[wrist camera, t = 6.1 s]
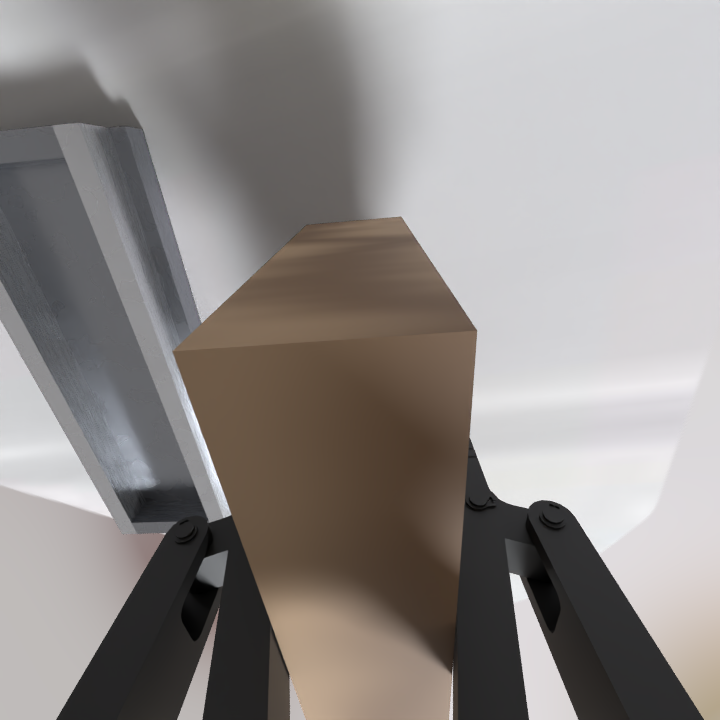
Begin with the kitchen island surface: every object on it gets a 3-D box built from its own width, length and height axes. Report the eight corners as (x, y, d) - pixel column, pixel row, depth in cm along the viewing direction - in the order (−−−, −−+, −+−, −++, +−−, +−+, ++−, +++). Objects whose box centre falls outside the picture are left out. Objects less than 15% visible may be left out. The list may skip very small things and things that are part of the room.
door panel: (329, 493, 23) (296, 773, 12) (283, 226, 15) (99, 356, 5) (408, 489, 23) (444, 773, 12) (401, 216, 15) (477, 330, 5)
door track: (138, 498, 31) (112, 534, 28) (-38, 148, 19) (-118, 143, 16) (252, 494, 30) (238, 530, 27) (142, 129, 19) (96, 120, 16)
